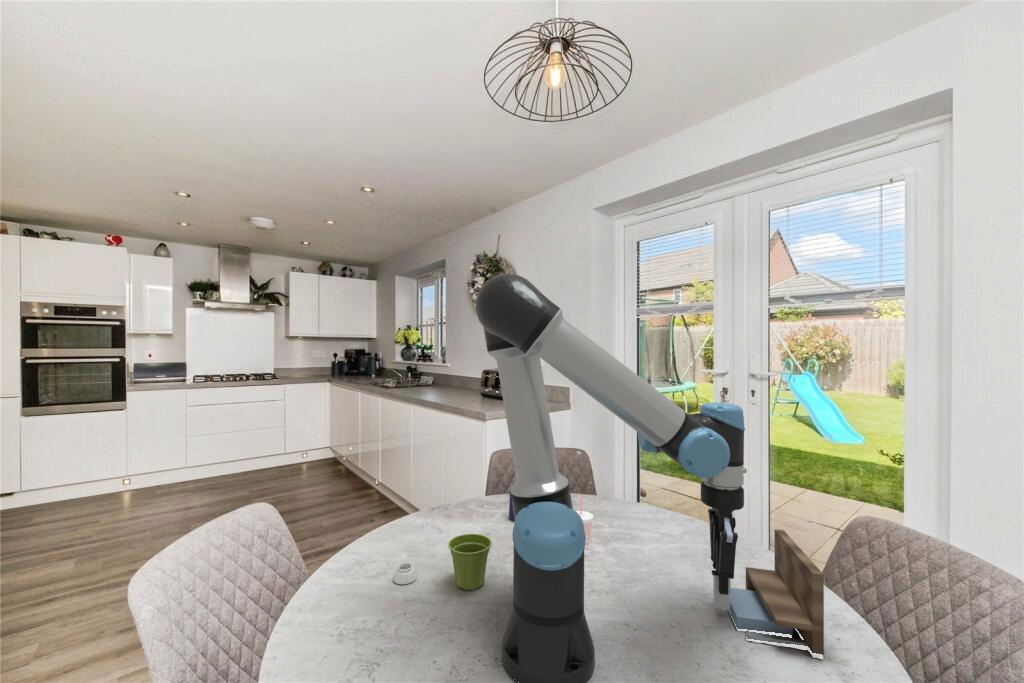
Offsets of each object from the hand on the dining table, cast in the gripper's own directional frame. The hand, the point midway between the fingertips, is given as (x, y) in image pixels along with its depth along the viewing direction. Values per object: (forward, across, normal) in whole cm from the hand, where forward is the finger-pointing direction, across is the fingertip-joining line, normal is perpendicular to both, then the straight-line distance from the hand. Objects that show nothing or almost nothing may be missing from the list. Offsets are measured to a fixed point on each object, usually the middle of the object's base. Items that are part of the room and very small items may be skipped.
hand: (721, 607), depth 83 cm
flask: (+2, +33, +46) cm, 57 cm away
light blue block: (+2, +1, -6) cm, 6 cm away
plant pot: (+2, -2, +50) cm, 51 cm away
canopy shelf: (+1, 0, -8) cm, 8 cm away
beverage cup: (+2, +19, +28) cm, 34 cm away
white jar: (+2, -4, +65) cm, 65 cm away
